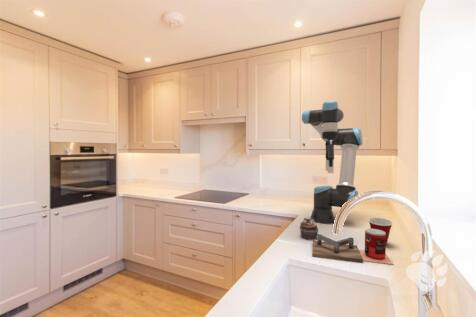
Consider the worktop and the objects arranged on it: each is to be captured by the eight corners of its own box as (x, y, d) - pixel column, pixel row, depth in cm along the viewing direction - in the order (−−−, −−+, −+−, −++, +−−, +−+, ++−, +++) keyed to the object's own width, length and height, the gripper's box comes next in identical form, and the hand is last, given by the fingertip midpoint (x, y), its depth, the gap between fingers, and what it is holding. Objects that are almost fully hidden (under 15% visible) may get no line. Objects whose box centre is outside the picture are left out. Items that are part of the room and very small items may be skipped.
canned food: (366, 251, 112) (367, 227, 112) (386, 255, 107) (387, 230, 107) (362, 256, 106) (363, 231, 106) (383, 261, 101) (384, 235, 101)
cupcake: (300, 239, 127) (300, 220, 127) (299, 233, 136) (299, 216, 136) (319, 241, 125) (320, 221, 125) (316, 234, 135) (317, 217, 135)
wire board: (312, 243, 122) (312, 231, 122) (356, 248, 116) (356, 236, 116) (312, 256, 106) (312, 243, 106) (363, 263, 100) (363, 248, 100)
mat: (358, 250, 114) (358, 249, 114) (385, 253, 110) (385, 252, 110) (363, 261, 102) (363, 260, 102) (393, 265, 99) (393, 264, 99)
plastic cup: (366, 245, 120) (366, 221, 120) (368, 238, 129) (369, 216, 129) (392, 250, 114) (392, 224, 114) (392, 243, 123) (393, 219, 123)
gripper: (320, 133, 140) (320, 169, 141) (323, 129, 116) (323, 174, 117) (334, 132, 138) (334, 170, 139) (340, 129, 114) (340, 174, 115)
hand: (329, 171), depth 128 cm, fingers open, 13 cm apart
